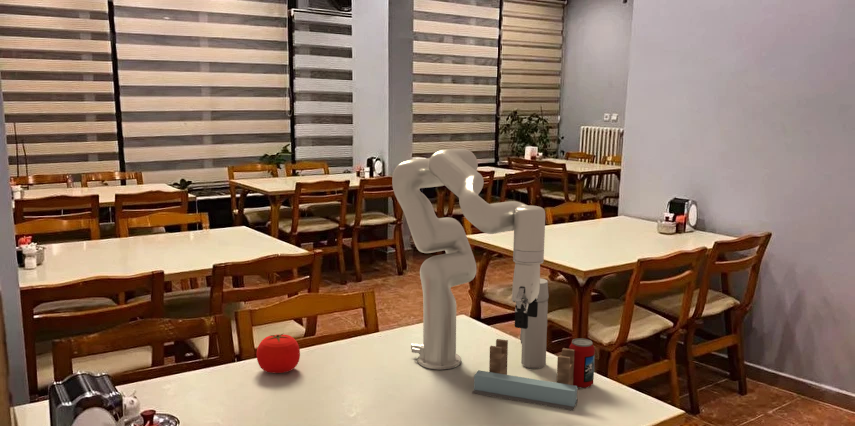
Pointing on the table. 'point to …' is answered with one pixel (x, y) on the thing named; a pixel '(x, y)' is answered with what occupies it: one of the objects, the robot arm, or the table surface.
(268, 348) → the tomato
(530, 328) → the water bottle
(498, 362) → the post
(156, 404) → the table surface
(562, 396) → the rail
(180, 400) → the table surface
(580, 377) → the beverage can
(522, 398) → the mat
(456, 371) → the table surface
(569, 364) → the post
